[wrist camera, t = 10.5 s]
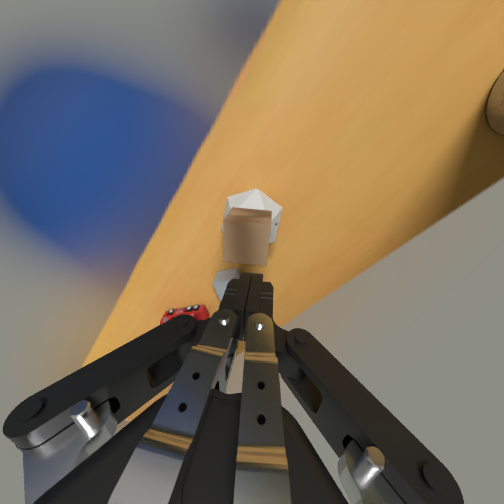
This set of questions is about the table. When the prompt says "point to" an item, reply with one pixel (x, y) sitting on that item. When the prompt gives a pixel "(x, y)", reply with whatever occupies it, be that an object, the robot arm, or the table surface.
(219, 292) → the slate block
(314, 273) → the table surface
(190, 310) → the toy fire truck
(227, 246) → the walnut block
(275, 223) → the die
